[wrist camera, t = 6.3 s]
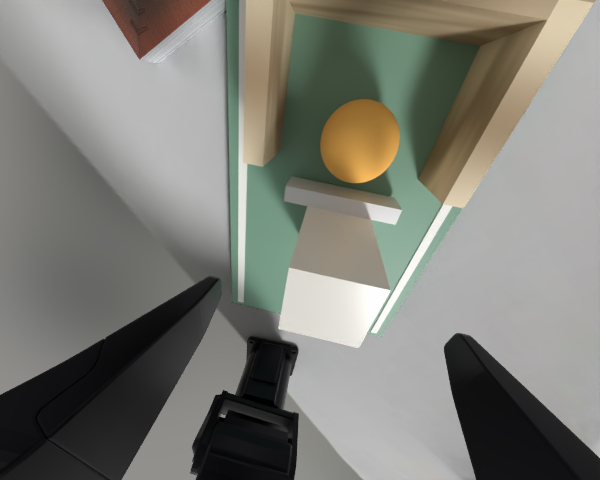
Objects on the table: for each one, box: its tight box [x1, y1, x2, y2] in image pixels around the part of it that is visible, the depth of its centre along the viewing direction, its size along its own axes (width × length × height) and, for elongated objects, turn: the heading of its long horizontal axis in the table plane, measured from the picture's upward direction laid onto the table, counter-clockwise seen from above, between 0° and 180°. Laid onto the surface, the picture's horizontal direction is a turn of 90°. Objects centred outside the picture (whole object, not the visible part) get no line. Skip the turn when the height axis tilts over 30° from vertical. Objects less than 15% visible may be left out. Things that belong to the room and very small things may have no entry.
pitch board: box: [226, 0, 480, 337], centre depth 17 cm, size 24×16×1 cm, turn 171°
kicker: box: [278, 176, 402, 348], centre depth 13 cm, size 5×7×8 cm
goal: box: [243, 0, 595, 208], centre depth 10 cm, size 8×11×4 cm
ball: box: [320, 99, 400, 183], centre depth 12 cm, size 4×4×4 cm
